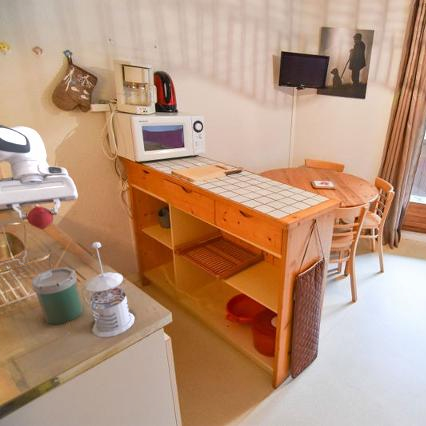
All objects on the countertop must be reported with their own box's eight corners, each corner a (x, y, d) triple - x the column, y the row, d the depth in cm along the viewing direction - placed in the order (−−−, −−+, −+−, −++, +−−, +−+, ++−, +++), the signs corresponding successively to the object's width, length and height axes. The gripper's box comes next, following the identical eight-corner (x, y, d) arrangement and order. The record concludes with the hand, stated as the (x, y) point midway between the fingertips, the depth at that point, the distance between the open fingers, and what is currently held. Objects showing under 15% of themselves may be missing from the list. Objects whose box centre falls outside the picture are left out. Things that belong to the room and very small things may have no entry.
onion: (56, 223, 100) (50, 200, 97) (55, 231, 96) (49, 206, 93) (31, 226, 97) (25, 202, 94) (29, 234, 93) (22, 209, 90)
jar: (38, 328, 82) (25, 289, 77) (49, 306, 90) (37, 270, 85) (80, 320, 86) (70, 283, 81) (87, 300, 93) (78, 264, 89)
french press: (115, 340, 81) (96, 256, 71) (76, 331, 82) (52, 247, 73) (142, 315, 89) (128, 236, 80) (107, 307, 91) (89, 229, 82)
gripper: (-20, 174, 89) (-13, 218, 86) (71, 167, 101) (80, 206, 98) (-12, 185, 94) (-6, 227, 91) (74, 177, 106) (82, 214, 103)
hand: (39, 216), depth 94 cm, fingers closed on onion, 6 cm apart
